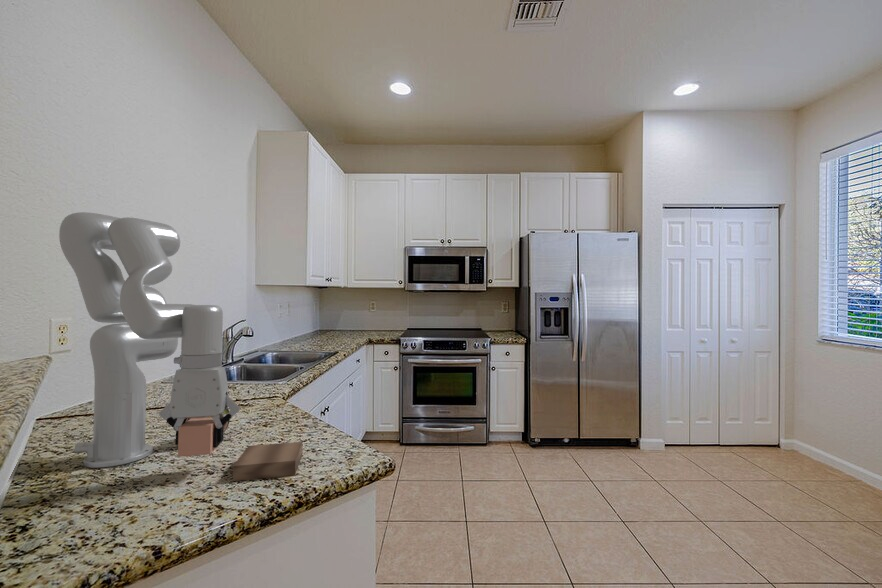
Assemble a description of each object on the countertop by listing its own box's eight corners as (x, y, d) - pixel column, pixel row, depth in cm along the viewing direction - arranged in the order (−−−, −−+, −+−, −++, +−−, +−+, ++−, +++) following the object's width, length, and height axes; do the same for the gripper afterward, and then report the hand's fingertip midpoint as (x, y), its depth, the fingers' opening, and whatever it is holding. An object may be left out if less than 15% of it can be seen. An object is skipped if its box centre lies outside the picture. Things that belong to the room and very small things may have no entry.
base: (232, 481, 79) (232, 465, 79) (248, 458, 91) (248, 445, 91) (295, 475, 82) (295, 460, 82) (302, 454, 93) (302, 441, 94)
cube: (177, 456, 80) (178, 427, 80) (189, 446, 86) (190, 419, 86) (210, 454, 81) (210, 425, 81) (219, 444, 87) (220, 417, 87)
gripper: (147, 365, 79) (144, 456, 78) (240, 363, 82) (238, 449, 82) (164, 361, 86) (162, 443, 85) (249, 358, 90) (248, 438, 89)
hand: (199, 445), depth 83 cm, fingers closed on cube, 6 cm apart
